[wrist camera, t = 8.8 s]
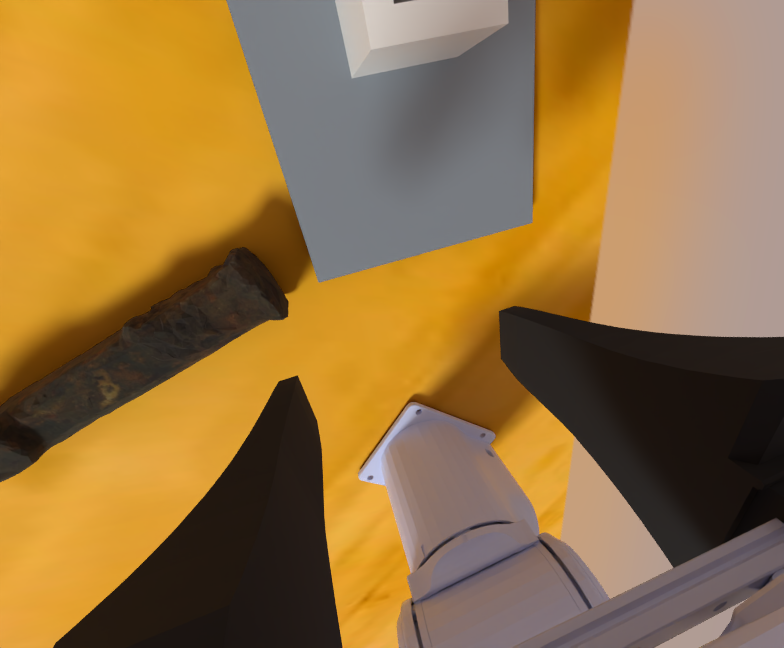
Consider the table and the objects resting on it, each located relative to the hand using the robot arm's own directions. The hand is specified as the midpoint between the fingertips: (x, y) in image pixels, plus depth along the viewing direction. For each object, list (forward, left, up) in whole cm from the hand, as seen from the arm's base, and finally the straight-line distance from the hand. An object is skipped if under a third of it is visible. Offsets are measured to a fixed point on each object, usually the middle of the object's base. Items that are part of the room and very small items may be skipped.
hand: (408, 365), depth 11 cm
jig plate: (+3, -9, -9) cm, 13 cm away
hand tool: (+9, +10, -10) cm, 17 cm away
